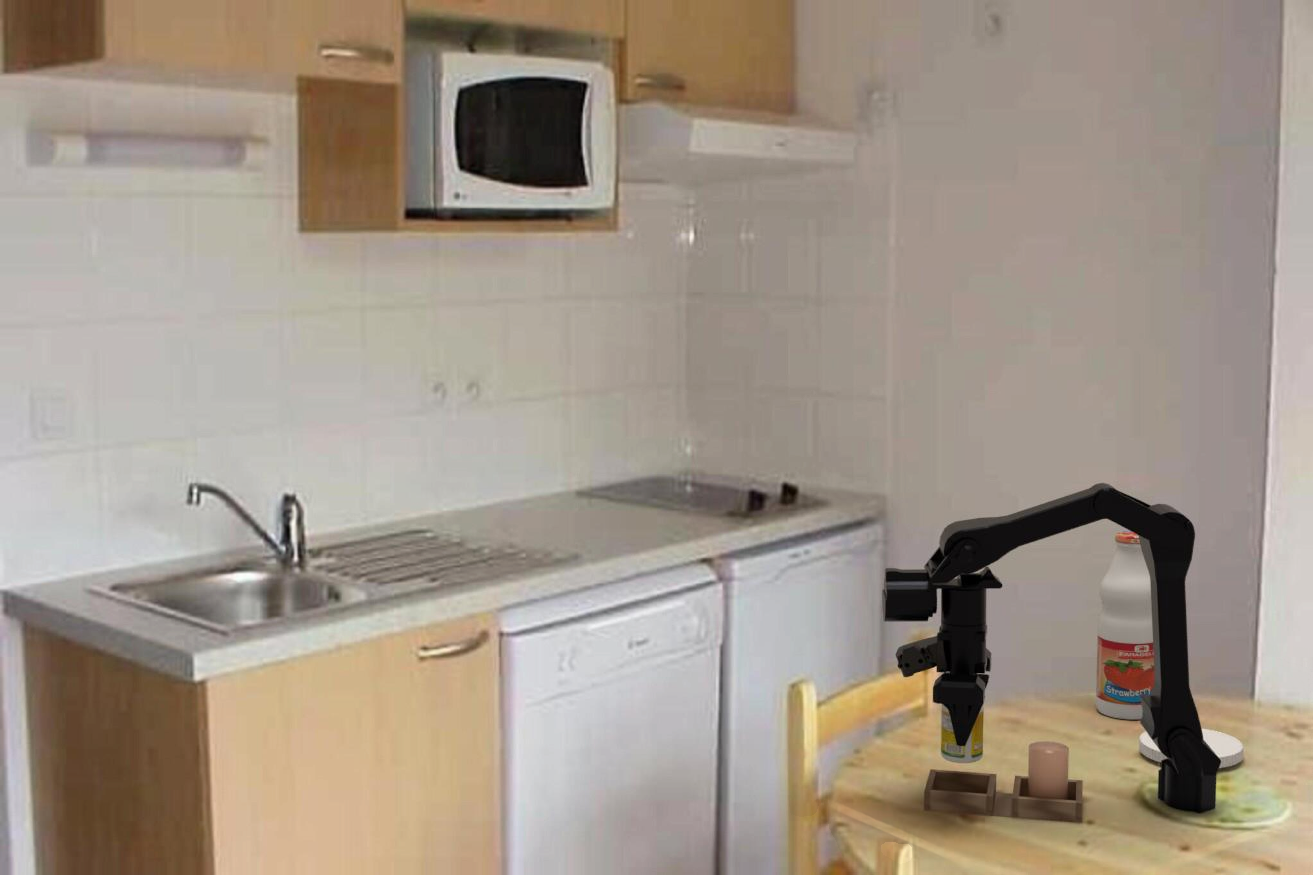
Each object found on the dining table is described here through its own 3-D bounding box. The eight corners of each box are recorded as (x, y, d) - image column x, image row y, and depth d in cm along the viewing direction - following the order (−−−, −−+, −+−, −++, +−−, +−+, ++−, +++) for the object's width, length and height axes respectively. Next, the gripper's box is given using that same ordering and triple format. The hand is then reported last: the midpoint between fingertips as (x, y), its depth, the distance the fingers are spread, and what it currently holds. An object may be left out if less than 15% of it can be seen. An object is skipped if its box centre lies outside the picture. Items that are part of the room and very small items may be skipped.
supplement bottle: (947, 765, 208) (947, 692, 207) (936, 751, 213) (936, 680, 212) (988, 763, 209) (989, 690, 207) (976, 749, 214) (976, 678, 213)
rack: (1082, 806, 212) (1082, 780, 212) (1081, 830, 204) (1082, 803, 204) (930, 794, 217) (930, 769, 217) (924, 817, 209) (924, 791, 208)
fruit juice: (1147, 701, 257) (1152, 527, 253) (1167, 720, 248) (1173, 539, 244) (1087, 703, 257) (1092, 528, 253) (1106, 721, 247) (1111, 540, 243)
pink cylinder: (1075, 809, 208) (1077, 748, 207) (1049, 817, 206) (1050, 756, 205) (1045, 798, 213) (1046, 738, 211) (1019, 806, 210) (1020, 746, 209)
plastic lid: (1264, 765, 228) (1265, 748, 227) (1189, 782, 222) (1189, 764, 221) (1191, 737, 240) (1191, 721, 240) (1117, 752, 234) (1118, 735, 234)
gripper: (907, 601, 220) (907, 713, 222) (892, 636, 202) (892, 757, 204) (992, 604, 217) (991, 718, 219) (983, 640, 199) (982, 763, 201)
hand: (962, 738), depth 211 cm, fingers closed on supplement bottle, 5 cm apart
